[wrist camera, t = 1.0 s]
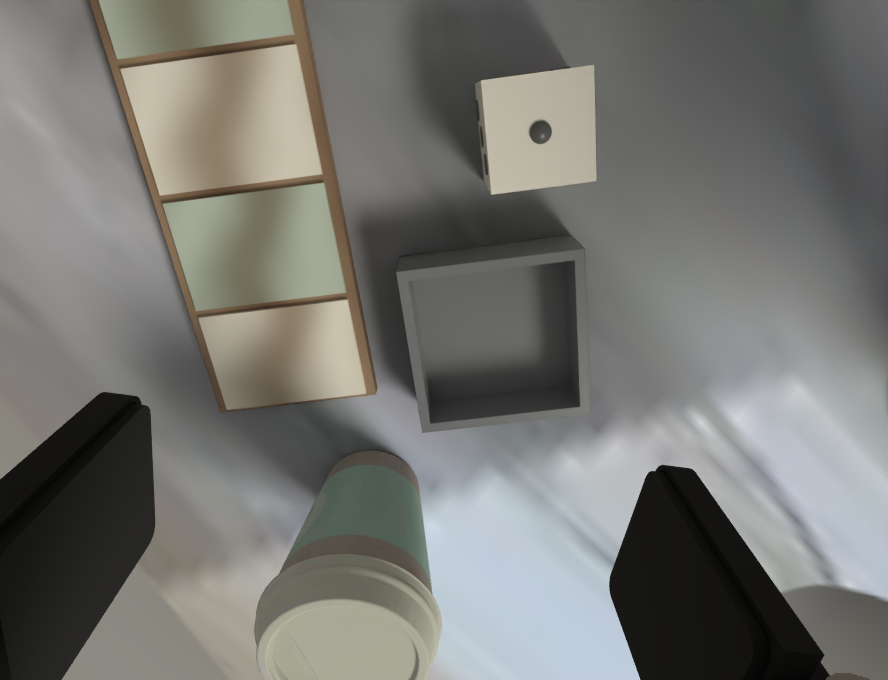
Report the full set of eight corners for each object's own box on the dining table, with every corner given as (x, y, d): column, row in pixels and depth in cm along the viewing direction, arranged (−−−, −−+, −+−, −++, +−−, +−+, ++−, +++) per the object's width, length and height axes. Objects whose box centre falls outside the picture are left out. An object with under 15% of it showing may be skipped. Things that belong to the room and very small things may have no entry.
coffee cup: (315, 417, 33) (255, 572, 22) (455, 446, 34) (463, 609, 23) (294, 528, 37) (232, 712, 26) (423, 552, 37) (417, 740, 26)
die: (569, 69, 26) (594, 62, 22) (573, 169, 28) (596, 181, 24) (472, 82, 27) (478, 78, 22) (482, 181, 28) (489, 195, 24)
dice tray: (571, 235, 29) (585, 248, 27) (577, 387, 33) (590, 414, 30) (400, 256, 30) (396, 272, 27) (423, 405, 33) (422, 432, 30)
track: (241, -319, 21) (232, -338, 20) (377, 387, 33) (375, 395, 32) (10, -280, 22) (-9, -297, 21) (225, 405, 33) (219, 414, 32)
